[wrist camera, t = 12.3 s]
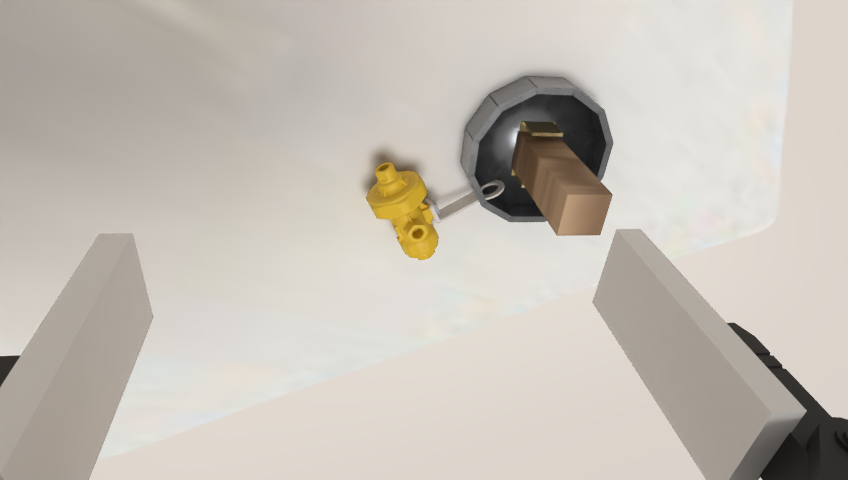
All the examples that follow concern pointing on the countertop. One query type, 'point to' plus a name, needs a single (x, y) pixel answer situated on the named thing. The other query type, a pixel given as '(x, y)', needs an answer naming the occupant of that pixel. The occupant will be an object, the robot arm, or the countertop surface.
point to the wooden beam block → (561, 185)
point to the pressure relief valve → (414, 208)
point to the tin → (540, 116)
